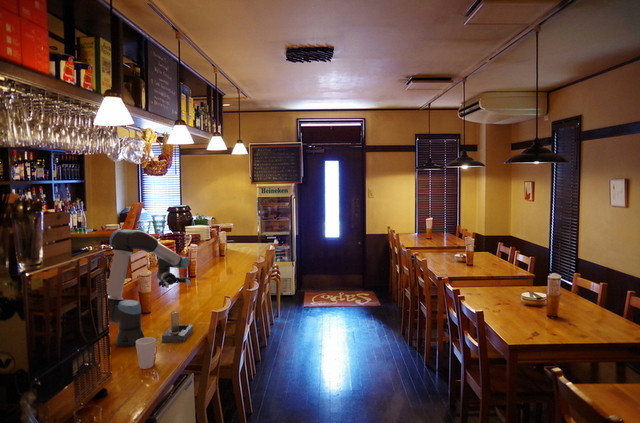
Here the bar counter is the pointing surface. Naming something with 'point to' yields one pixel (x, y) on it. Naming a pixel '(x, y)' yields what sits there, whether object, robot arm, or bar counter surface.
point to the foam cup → (146, 351)
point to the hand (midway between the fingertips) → (179, 284)
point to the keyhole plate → (181, 336)
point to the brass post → (174, 322)
